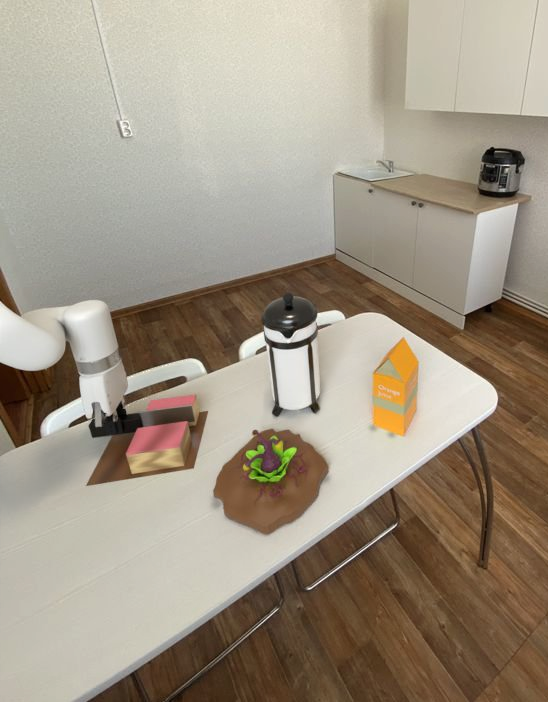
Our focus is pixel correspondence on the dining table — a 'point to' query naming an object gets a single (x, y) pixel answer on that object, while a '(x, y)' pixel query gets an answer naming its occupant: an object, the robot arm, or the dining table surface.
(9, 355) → the robot arm
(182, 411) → the knife
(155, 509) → the dining table surface
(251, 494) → the plant
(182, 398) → the cake slice
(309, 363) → the coffee press
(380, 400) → the orange juice
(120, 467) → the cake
